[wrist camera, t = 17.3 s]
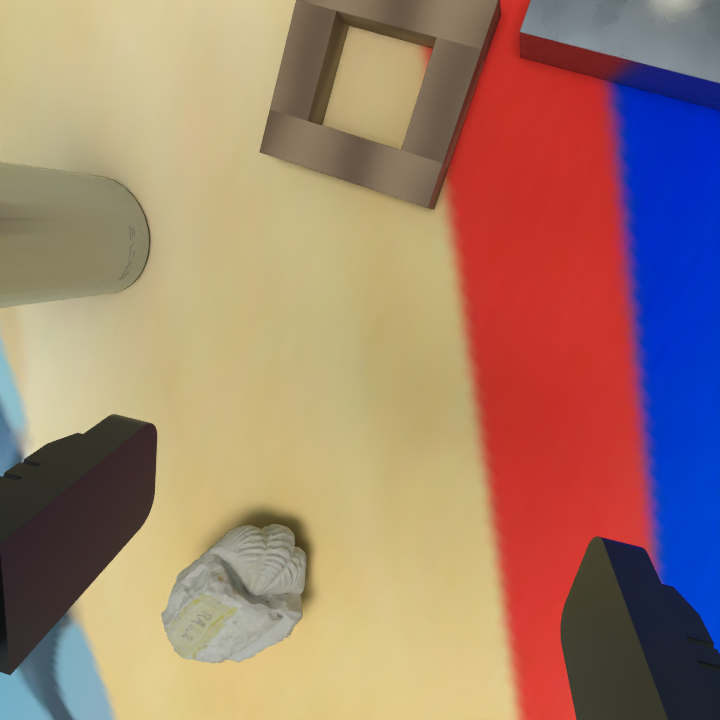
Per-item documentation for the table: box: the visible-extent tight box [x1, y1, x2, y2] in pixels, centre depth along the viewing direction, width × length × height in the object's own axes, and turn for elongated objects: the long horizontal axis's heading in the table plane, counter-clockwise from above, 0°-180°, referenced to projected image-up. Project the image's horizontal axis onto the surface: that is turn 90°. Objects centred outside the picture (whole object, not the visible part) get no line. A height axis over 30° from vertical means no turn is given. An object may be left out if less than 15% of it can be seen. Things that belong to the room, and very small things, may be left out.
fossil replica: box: [161, 524, 306, 663], centre depth 43 cm, size 12×8×10 cm
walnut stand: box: [260, 0, 501, 209], centre depth 35 cm, size 12×12×2 cm
